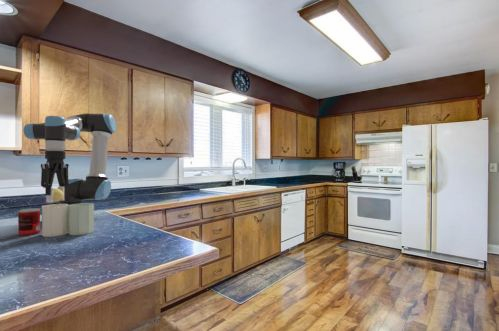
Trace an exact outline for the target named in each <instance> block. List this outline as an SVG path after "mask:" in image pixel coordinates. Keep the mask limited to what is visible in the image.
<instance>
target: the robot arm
mask: <svg viewBox="0 0 499 331" xmlns="http://www.w3.org/2000/svg"><path fill="white" fill-rule="evenodd" d="M44 118H45V119H44V122H39V123H26V124H25V125H24V126H23V130H22V131H23V135H24V136H25V138H26V139H29V140H35V141H36V140H44V147H45V148H44V149H45V151H44V159H45V160H46V162H45V163H41V164H40V169H41V176H40V177H41V178H40V179H41V180H40V186H41V188H43V189H44V190H45V203H46V204H49V203H51V204H52V203H54V202H53V189H54V187H53V183H54V179H55V175H56V178H57V183H58V186H57V189H60V190H61V191H62V192H63V198H62V199H61V200H60V201H58V202H59V203H58V204H68V205H72V204H79V203H84V201H85V200H86V201H89V200H90V201H91V200H93V201H95V200H96V201H98V200H106V199H107V198H108V197H109V195H110V194H111V190H112V185H111V184H112V182H111V180H109V177H108V176H107V175H106V173H107V172H106V171H107V162H108V151H109V140H110V138H111V137H112V136H113V135H112V134H113V133H115V132H116V131H117V125H116V124H117V123H116V120H115V118H114V117H113V115H111V113H110V114H109V113H80V114H75V115H71V116H67V118H65V117H63V116H61V115H60V116H59V115H48V116H46V117H44ZM81 132H84V133H90V135H91V136H92V145H91V153H90V154H91V155H90V162H89V173H88V175H86V177H85V179H84V178H83V177H77V178H69V166H70V165H69V163H65V162H64V160H66V151H65V150H66V148H67V147H66V145H67V144H66V141H76V140H78V139H79V138H80V136H81Z"/></svg>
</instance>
